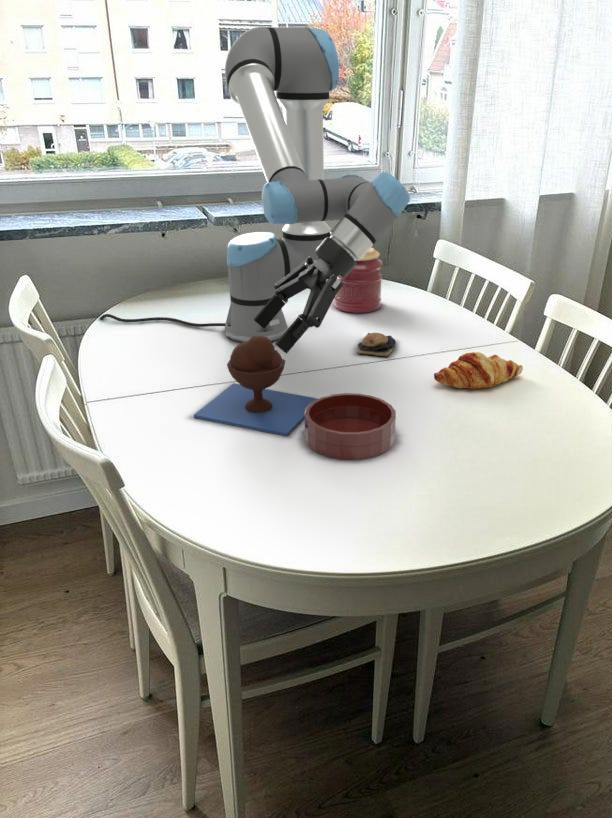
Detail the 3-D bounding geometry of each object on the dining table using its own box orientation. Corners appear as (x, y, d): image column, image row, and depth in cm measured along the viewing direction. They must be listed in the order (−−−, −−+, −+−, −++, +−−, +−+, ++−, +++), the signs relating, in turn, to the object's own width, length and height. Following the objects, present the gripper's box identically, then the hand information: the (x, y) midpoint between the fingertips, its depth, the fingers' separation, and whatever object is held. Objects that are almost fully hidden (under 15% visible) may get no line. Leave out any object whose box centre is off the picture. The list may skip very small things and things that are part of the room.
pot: (290, 449, 132) (289, 424, 129) (326, 411, 145) (325, 387, 142) (377, 467, 127) (378, 441, 124) (405, 426, 140) (407, 401, 137)
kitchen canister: (339, 296, 206) (339, 232, 197) (384, 300, 204) (387, 236, 195) (328, 311, 195) (328, 244, 186) (376, 315, 193) (378, 248, 184)
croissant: (511, 384, 165) (508, 349, 165) (536, 381, 156) (532, 343, 155) (427, 395, 159) (423, 358, 158) (447, 392, 149) (443, 353, 148)
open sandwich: (389, 358, 169) (390, 343, 167) (354, 354, 170) (354, 339, 168) (398, 342, 178) (399, 327, 176) (364, 338, 179) (365, 324, 177)
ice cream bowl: (290, 396, 149) (287, 326, 141) (279, 421, 140) (276, 347, 132) (239, 393, 150) (234, 323, 142) (225, 417, 140) (219, 344, 132)
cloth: (193, 417, 141) (193, 414, 141) (233, 385, 154) (233, 383, 154) (287, 436, 136) (287, 433, 135) (320, 401, 149) (320, 399, 148)
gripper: (383, 281, 128) (305, 372, 131) (331, 245, 147) (263, 325, 150) (356, 253, 124) (275, 348, 126) (306, 220, 143) (237, 303, 146)
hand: (269, 336), depth 138 cm, fingers open, 13 cm apart
